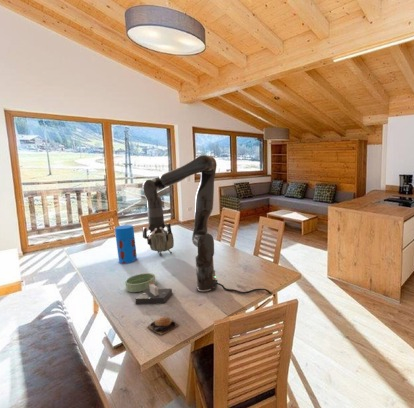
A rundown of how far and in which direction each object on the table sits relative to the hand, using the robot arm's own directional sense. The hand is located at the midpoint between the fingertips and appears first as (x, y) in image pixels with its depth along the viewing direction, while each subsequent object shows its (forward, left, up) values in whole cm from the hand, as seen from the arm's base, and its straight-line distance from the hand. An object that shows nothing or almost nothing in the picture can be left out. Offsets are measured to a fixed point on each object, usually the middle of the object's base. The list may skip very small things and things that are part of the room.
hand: (158, 243), depth 155 cm
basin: (+12, 0, -26) cm, 29 cm away
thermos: (+42, -41, -26) cm, 64 cm away
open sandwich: (-17, +39, -26) cm, 50 cm away
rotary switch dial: (-2, +14, -26) cm, 30 cm away
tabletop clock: (+23, -52, -26) cm, 63 cm away
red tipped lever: (-2, +14, -23) cm, 27 cm away
